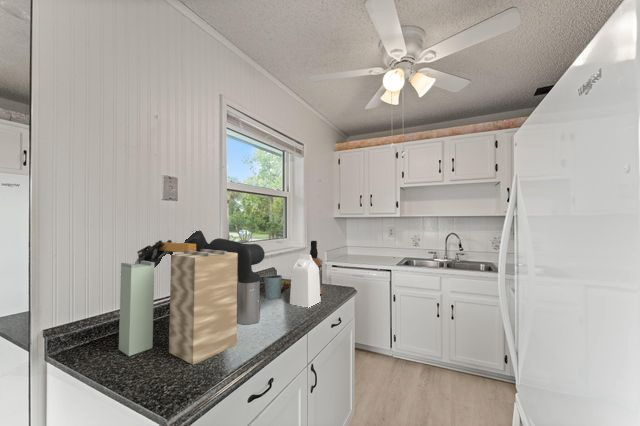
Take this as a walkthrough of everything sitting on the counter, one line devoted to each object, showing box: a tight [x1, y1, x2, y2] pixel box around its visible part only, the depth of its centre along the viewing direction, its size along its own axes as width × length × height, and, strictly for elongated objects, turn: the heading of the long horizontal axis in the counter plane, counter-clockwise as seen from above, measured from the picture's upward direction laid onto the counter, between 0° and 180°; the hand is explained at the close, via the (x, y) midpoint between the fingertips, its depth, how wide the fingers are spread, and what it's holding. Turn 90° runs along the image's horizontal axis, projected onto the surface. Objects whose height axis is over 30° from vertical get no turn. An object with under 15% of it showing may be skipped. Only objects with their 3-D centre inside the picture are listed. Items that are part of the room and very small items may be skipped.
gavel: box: [281, 279, 291, 293], centre depth 172 cm, size 21×5×10 cm
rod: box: [154, 241, 196, 254], centre depth 103 cm, size 24×3×3 cm, turn 56°
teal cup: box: [263, 274, 283, 300], centre depth 155 cm, size 10×10×12 cm
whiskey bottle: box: [309, 240, 324, 294], centre depth 163 cm, size 10×10×32 cm
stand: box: [168, 249, 238, 365], centre depth 92 cm, size 14×16×33 cm
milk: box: [289, 253, 322, 309], centre depth 144 cm, size 12×12×26 cm
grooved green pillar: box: [118, 261, 155, 357], centre depth 92 cm, size 8×7×29 cm
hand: (165, 242), depth 107 cm, fingers closed on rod, 3 cm apart
